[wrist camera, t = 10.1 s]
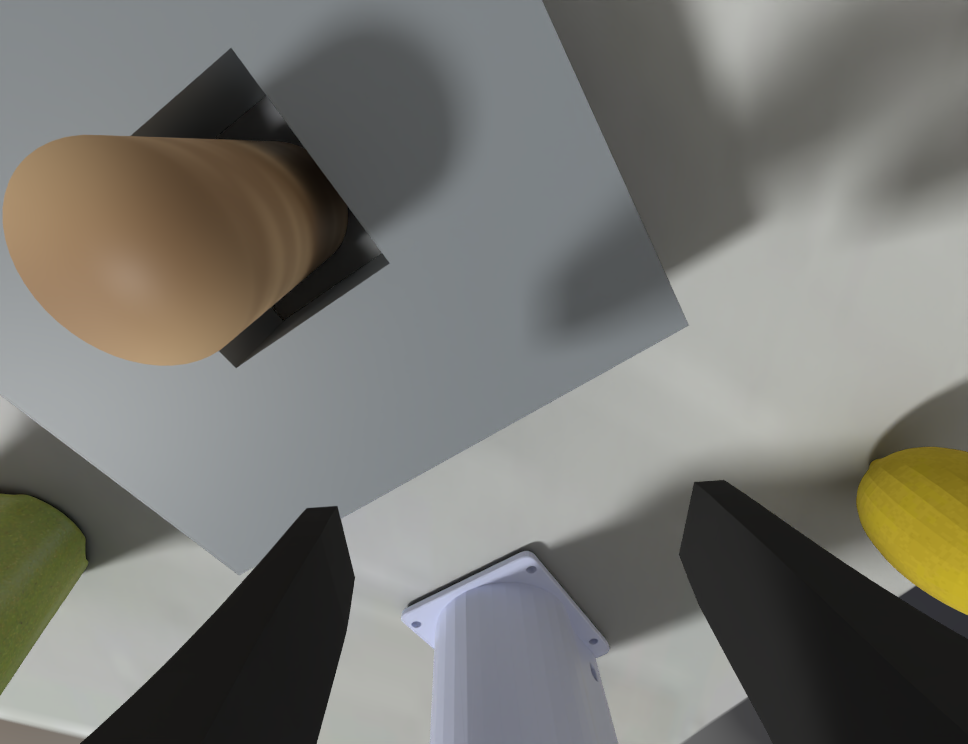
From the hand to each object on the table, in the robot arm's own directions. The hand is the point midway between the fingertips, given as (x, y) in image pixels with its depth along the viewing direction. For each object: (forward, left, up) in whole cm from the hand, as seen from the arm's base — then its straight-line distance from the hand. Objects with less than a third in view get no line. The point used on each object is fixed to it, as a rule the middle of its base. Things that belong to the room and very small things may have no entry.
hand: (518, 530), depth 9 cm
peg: (+8, +3, -9) cm, 13 cm away
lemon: (-15, -12, -10) cm, 21 cm away
